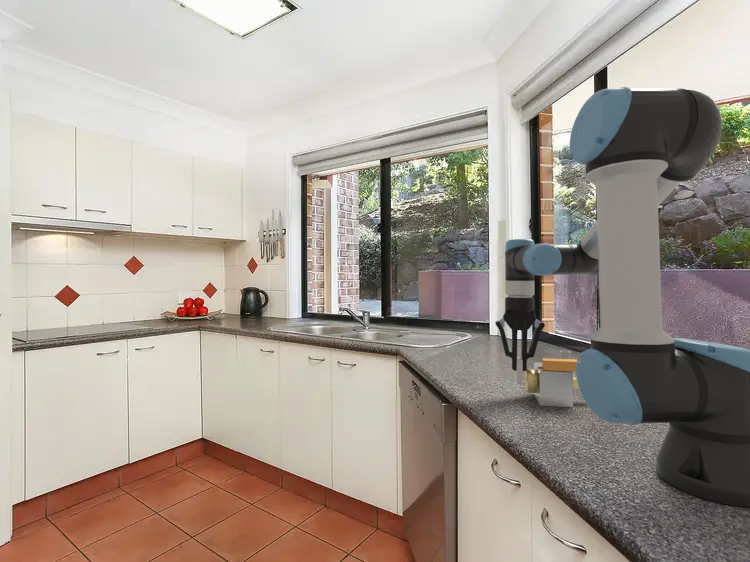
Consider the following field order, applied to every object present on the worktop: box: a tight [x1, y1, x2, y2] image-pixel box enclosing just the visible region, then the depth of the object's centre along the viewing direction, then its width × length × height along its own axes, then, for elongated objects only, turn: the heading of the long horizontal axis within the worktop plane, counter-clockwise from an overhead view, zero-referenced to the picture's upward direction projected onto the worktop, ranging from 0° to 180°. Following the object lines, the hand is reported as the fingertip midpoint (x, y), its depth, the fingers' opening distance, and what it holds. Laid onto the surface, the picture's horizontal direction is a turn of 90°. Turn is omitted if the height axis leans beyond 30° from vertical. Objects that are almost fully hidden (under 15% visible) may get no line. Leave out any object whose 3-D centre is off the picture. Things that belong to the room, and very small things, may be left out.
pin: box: [524, 368, 580, 394], centre depth 110 cm, size 6×16×6 cm, turn 77°
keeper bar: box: [541, 355, 579, 373], centre depth 106 cm, size 3×10×4 cm, turn 77°
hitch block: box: [533, 361, 574, 408], centre depth 110 cm, size 10×8×9 cm
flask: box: [559, 350, 576, 377], centre depth 126 cm, size 7×7×10 cm
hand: (519, 382), depth 112 cm, fingers closed
